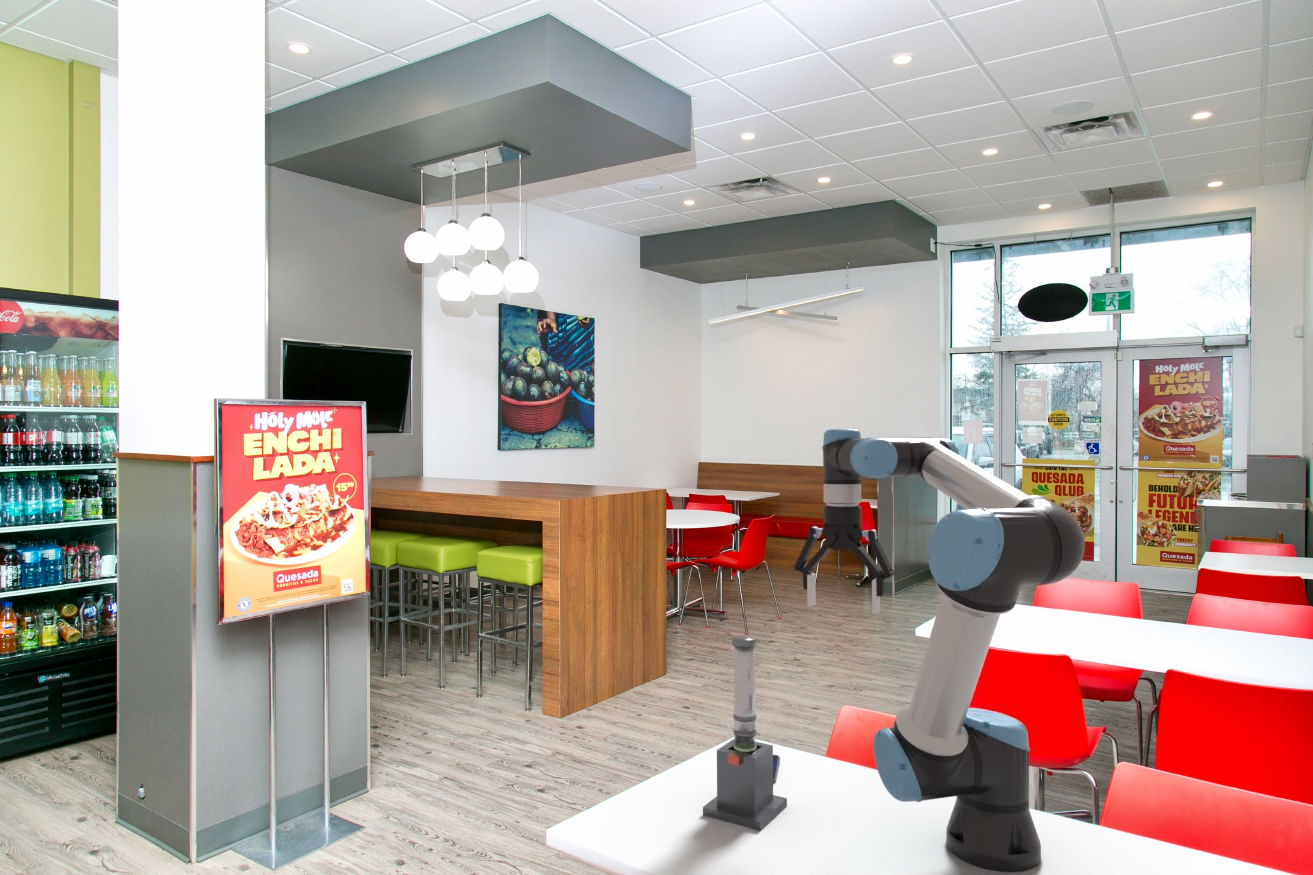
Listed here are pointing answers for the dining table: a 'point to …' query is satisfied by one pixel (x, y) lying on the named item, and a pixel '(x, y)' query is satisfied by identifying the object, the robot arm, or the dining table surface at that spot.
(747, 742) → the column
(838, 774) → the dining table surface
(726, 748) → the stand base
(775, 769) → the smartphone
